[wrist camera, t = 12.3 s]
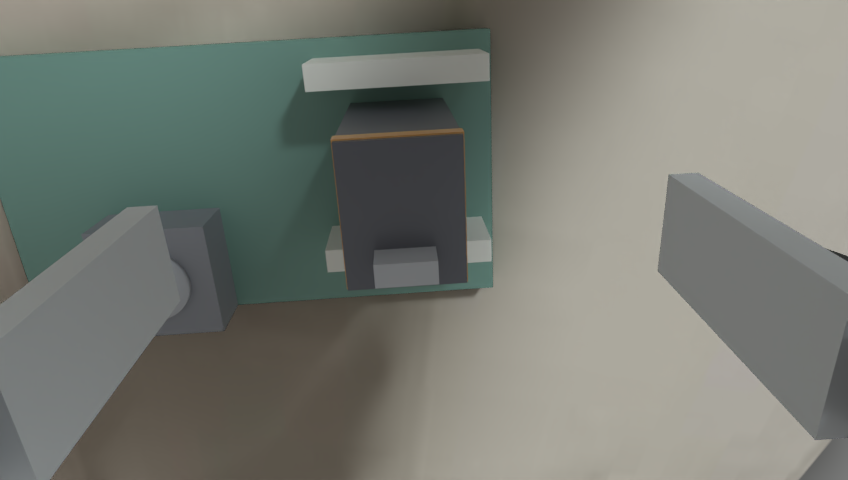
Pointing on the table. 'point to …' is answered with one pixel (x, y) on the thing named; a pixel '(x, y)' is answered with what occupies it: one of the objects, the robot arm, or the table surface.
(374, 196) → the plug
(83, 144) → the board
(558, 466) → the table surface
